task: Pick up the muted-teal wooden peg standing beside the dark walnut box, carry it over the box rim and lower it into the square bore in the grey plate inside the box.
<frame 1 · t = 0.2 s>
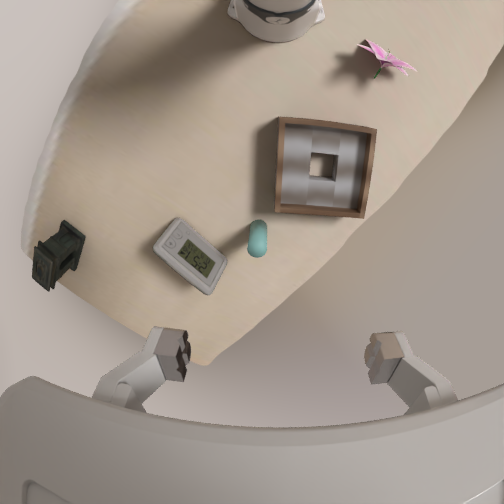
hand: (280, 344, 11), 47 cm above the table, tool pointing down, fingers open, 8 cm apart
lily: (378, 61, 41), on the table
bore box: (320, 163, 53), on the table
digital clock: (197, 243, 64), on the table
model: (71, 244, 66), on the table
peg: (258, 227, 61), on the table
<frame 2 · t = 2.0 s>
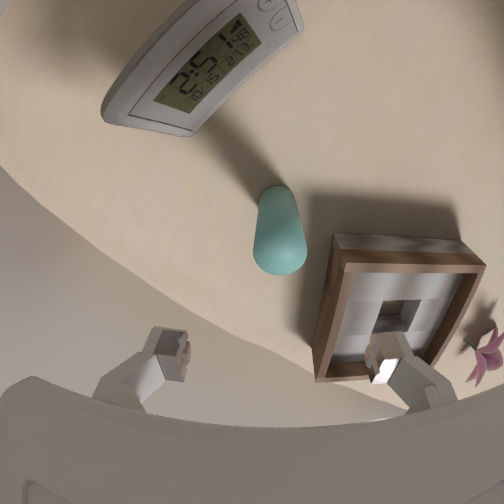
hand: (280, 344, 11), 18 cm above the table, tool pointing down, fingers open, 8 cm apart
lily: (475, 338, 36), on the table
bore box: (387, 299, 32), on the table
digital clock: (225, 63, 21), on the table
peg: (277, 202, 27), on the table
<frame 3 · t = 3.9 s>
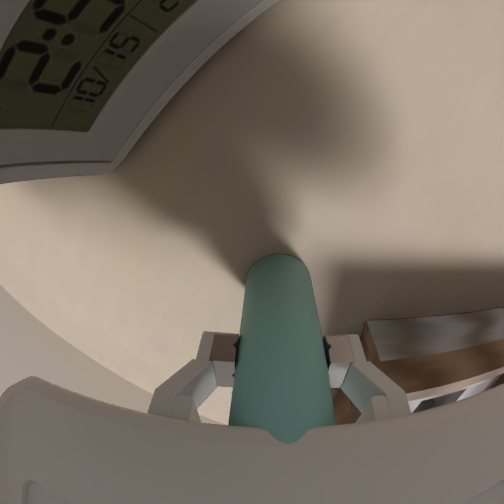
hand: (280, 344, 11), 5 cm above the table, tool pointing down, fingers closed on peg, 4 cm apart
bore box: (422, 382, 20), on the table
digital clock: (179, 26, 9), on the table
peg: (278, 282, 15), on the table, touching gripper
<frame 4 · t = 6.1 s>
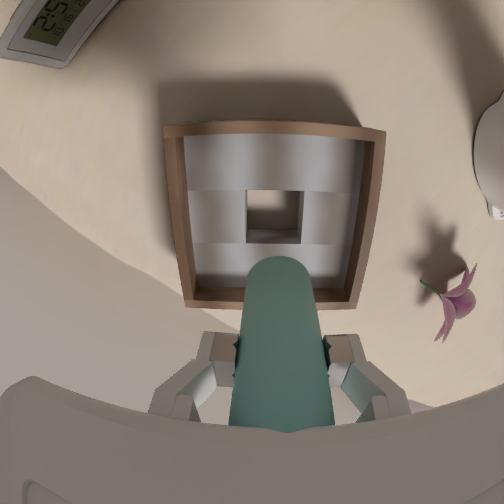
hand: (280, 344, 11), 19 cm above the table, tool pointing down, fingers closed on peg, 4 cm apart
lily: (439, 283, 33), on the table
bore box: (272, 205, 29), on the table
digital clock: (96, 11, 17), on the table
peg: (278, 283, 15), point 15 cm above the table, touching gripper
when the fingers open (6 cm above the table, at t = 8.6 s): peg drops 2 cm, resting in bore box.
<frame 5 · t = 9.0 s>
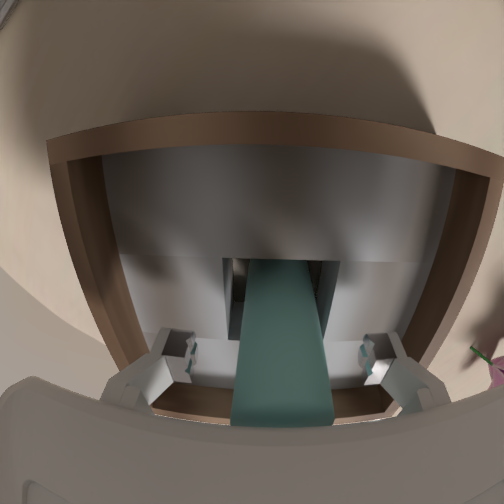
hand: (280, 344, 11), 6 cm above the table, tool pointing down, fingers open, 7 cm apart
lily: (489, 344, 21), on the table
bore box: (277, 268, 17), on the table
peg: (278, 269, 17), resting in bore box
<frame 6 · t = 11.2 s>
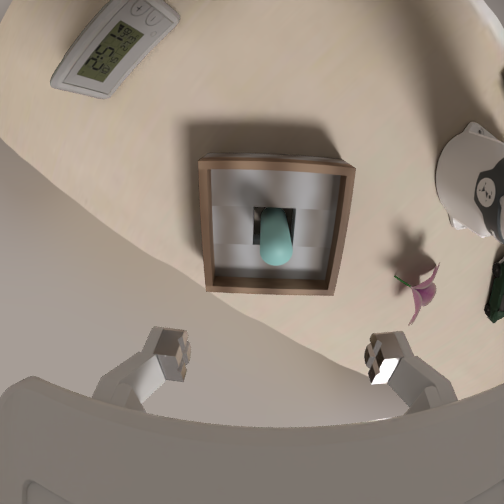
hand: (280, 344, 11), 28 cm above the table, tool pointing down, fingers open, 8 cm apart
lily: (411, 278, 43), on the table
bore box: (273, 217, 39), on the table
miniature car: (499, 281, 43), on the table
digital clock: (133, 50, 28), on the table
peg: (273, 217, 39), resting in bore box
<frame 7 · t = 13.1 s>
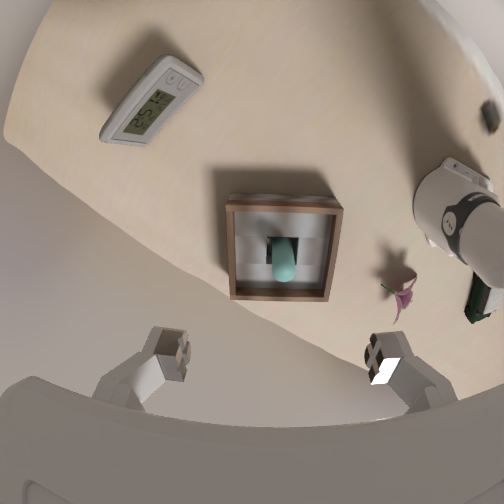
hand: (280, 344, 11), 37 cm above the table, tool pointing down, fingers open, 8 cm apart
lily: (396, 285, 54), on the table
bore box: (281, 241, 50), on the table
miniature car: (479, 287, 54), on the table
digital clock: (164, 104, 39), on the table
peg: (281, 242, 50), resting in bore box
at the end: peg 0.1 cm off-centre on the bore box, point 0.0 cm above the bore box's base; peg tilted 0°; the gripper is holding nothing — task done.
